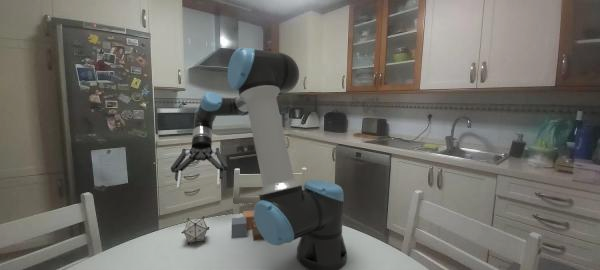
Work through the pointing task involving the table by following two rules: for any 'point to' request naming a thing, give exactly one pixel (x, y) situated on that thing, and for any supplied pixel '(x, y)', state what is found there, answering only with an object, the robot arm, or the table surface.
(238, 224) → the slate block
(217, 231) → the table surface
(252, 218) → the terracotta block
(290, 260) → the table surface
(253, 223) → the walnut block
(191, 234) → the game die
